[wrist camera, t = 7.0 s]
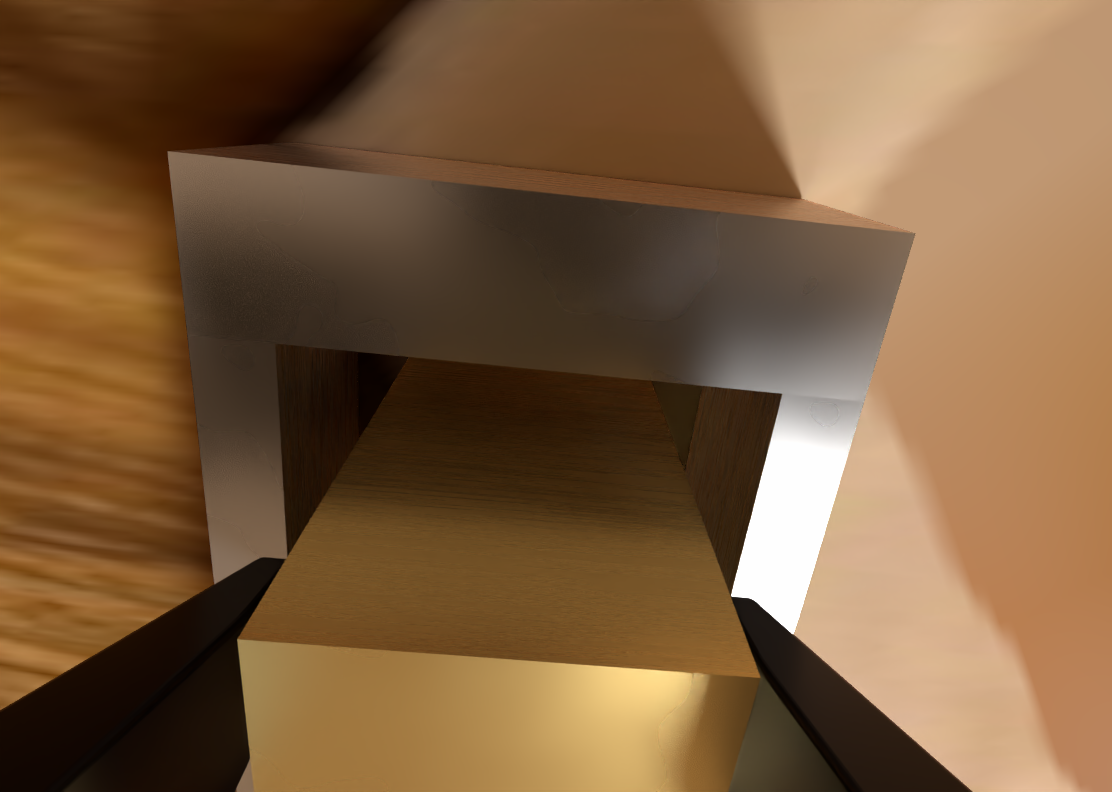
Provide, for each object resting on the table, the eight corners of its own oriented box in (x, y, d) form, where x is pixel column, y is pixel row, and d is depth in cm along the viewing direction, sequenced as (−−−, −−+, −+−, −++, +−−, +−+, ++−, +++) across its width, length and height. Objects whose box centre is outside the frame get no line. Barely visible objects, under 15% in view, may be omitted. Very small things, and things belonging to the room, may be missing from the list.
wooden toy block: (412, 539, 13) (272, 957, 7) (416, 345, 11) (236, 639, 5) (615, 556, 13) (675, 978, 7) (645, 366, 12) (761, 678, 5)
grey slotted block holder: (633, 914, 17) (681, 1389, 11) (322, 894, 17) (179, 1372, 10) (804, 199, 10) (1206, 321, 4) (290, 142, 10) (-173, 175, 4)
